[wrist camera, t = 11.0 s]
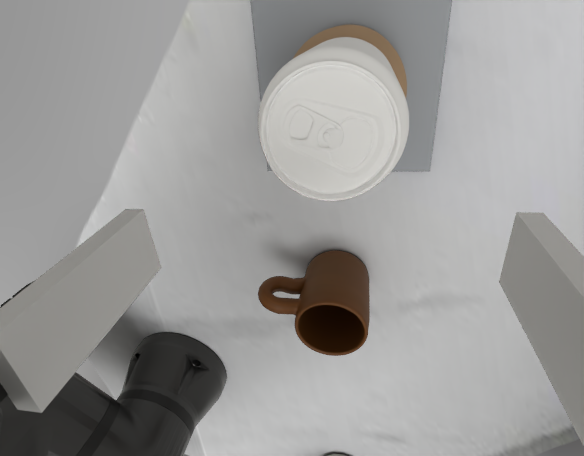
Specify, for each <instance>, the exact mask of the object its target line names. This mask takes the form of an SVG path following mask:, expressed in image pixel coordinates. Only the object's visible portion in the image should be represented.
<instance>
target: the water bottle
mask: <svg viewBox="0 0 584 456" xmlns="http://www.w3.org/2000/svg"><path fill="white" fill-rule="evenodd" d="M327 456H346V455H343V454H331V455H327Z"/></svg>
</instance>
